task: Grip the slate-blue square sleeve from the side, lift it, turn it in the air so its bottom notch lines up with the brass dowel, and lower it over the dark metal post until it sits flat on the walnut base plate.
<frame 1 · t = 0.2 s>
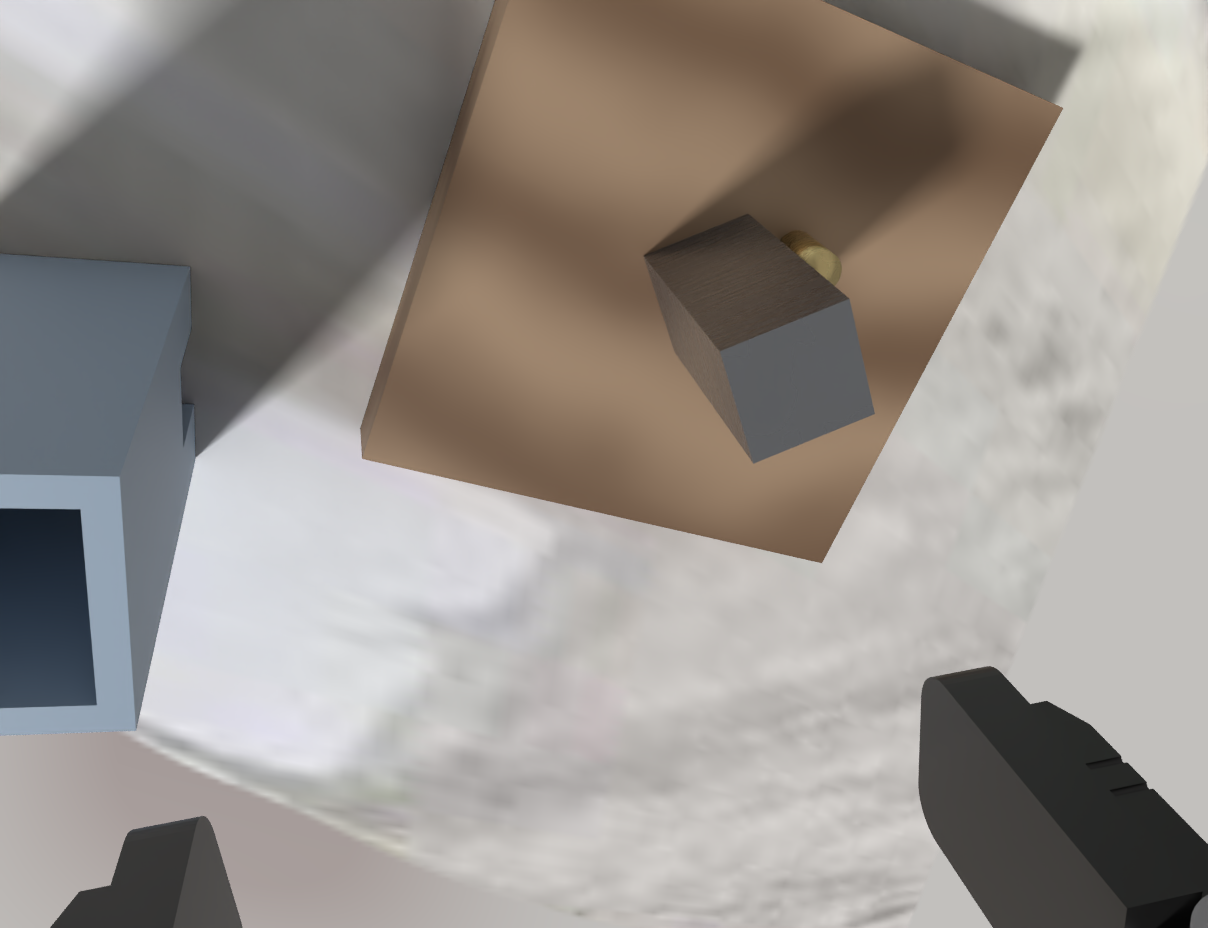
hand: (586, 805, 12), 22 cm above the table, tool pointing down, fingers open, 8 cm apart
base plate: (690, 262, 33), on the table
sleeve: (79, 361, 31), on the table
post: (757, 330, 29), on the base plate, point 6 cm above the table
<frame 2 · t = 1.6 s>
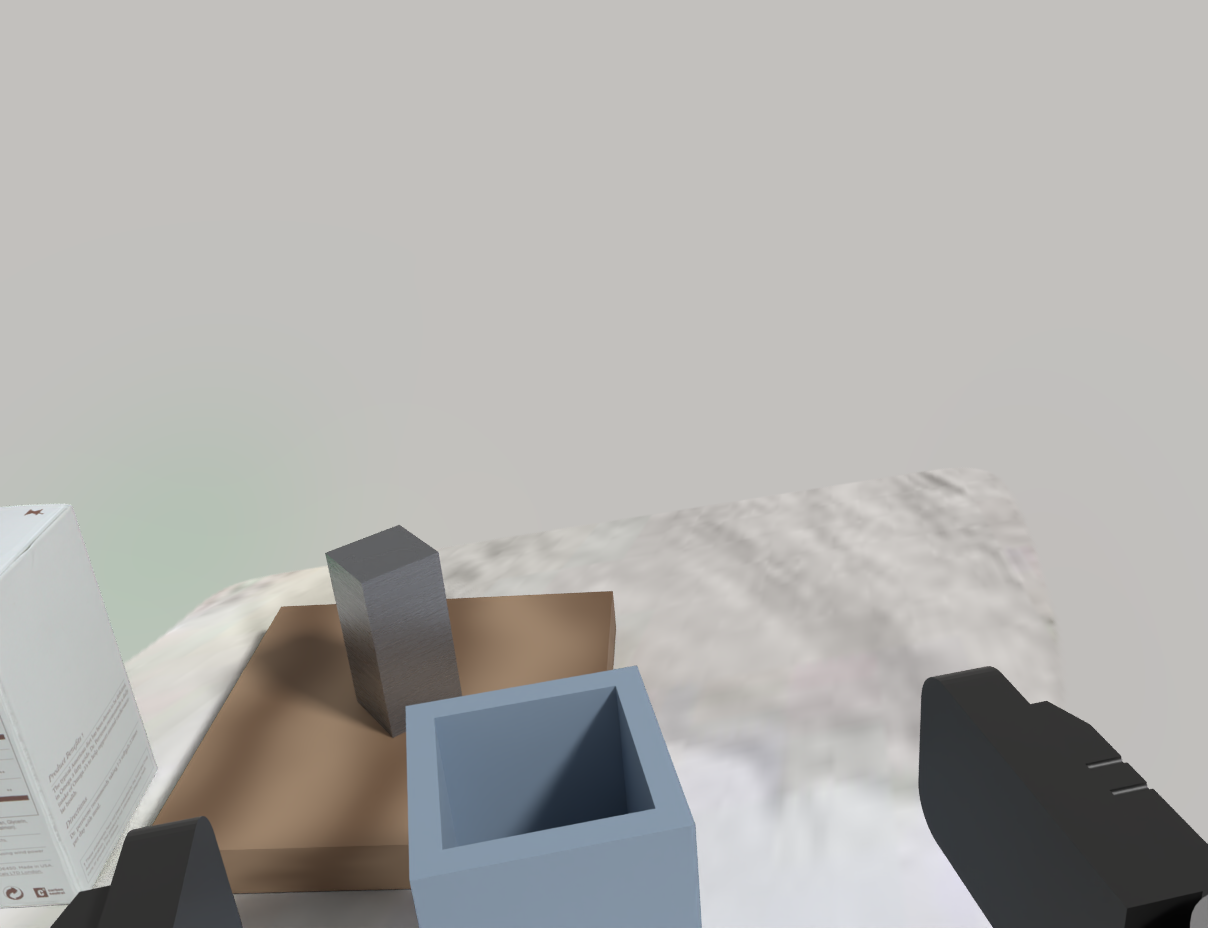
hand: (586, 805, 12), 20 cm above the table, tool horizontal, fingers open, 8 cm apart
base plate: (417, 741, 45), on the table
supplement box: (35, 843, 42), on the table
post: (396, 627, 43), on the base plate, point 6 cm above the table
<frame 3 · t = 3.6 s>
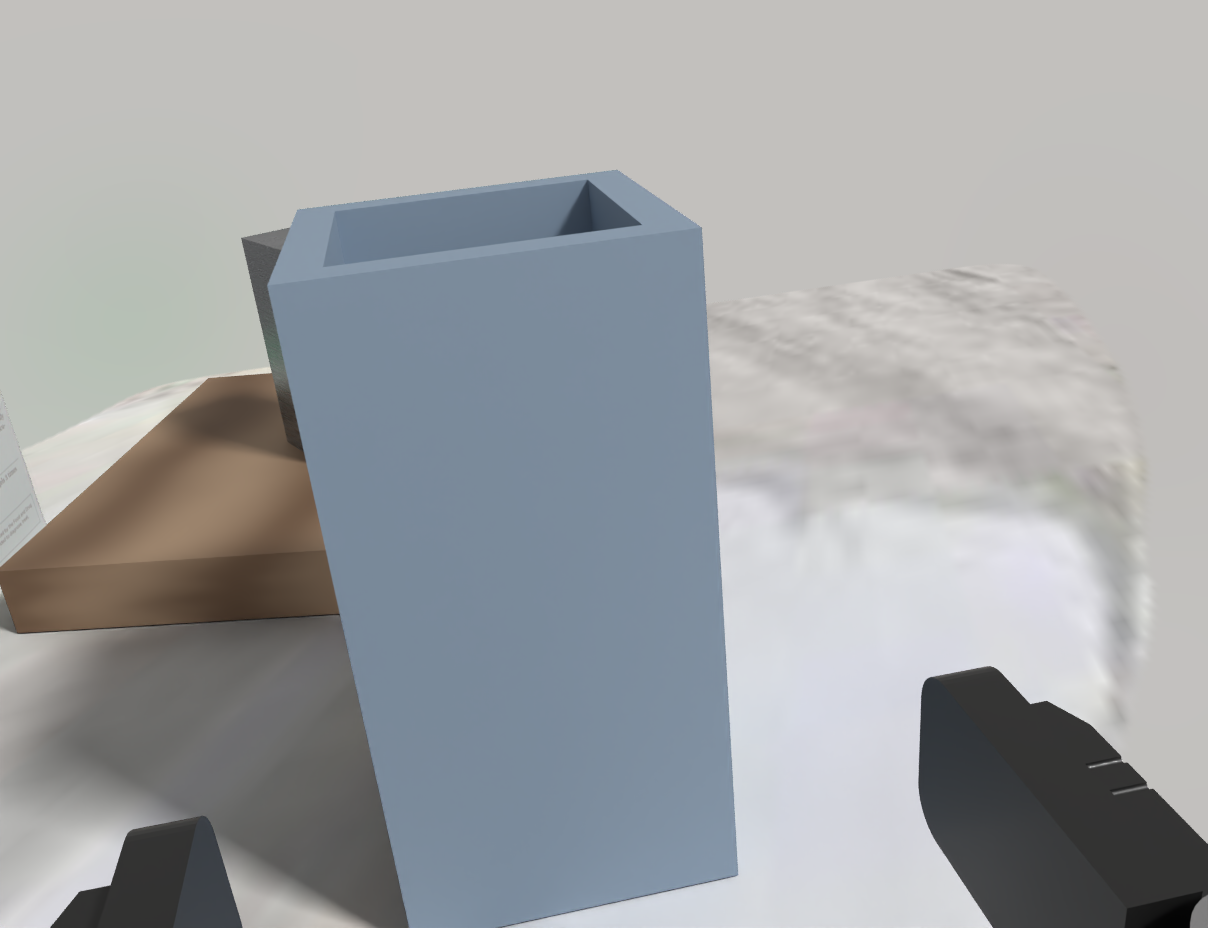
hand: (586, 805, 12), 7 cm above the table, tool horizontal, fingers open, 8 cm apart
base plate: (361, 492, 38), on the table
sleeve: (554, 800, 22), on the table
post: (331, 338, 36), on the base plate, point 6 cm above the table
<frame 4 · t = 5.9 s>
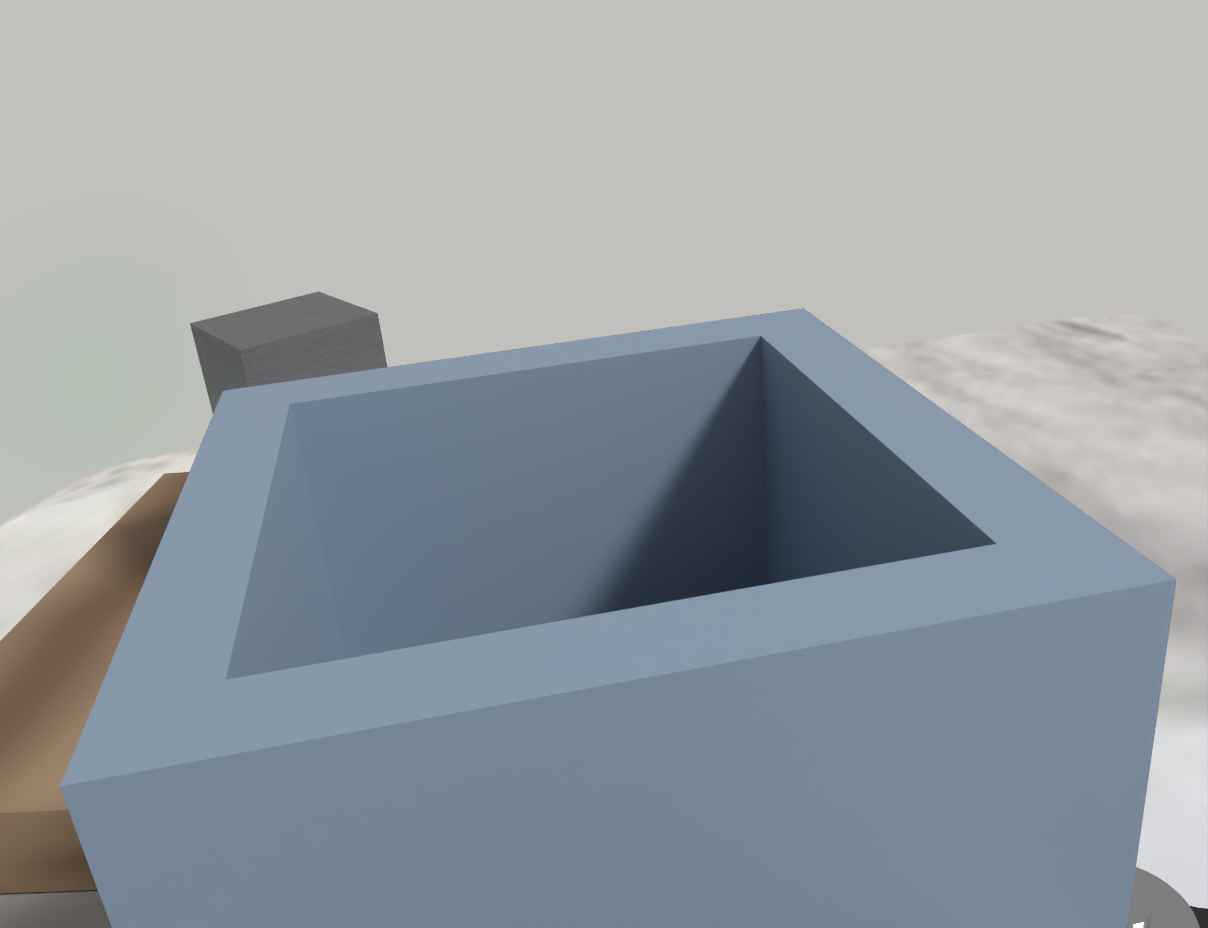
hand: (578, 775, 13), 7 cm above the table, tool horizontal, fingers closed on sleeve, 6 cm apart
base plate: (354, 651, 28), on the table
post: (314, 455, 26), on the base plate, point 6 cm above the table
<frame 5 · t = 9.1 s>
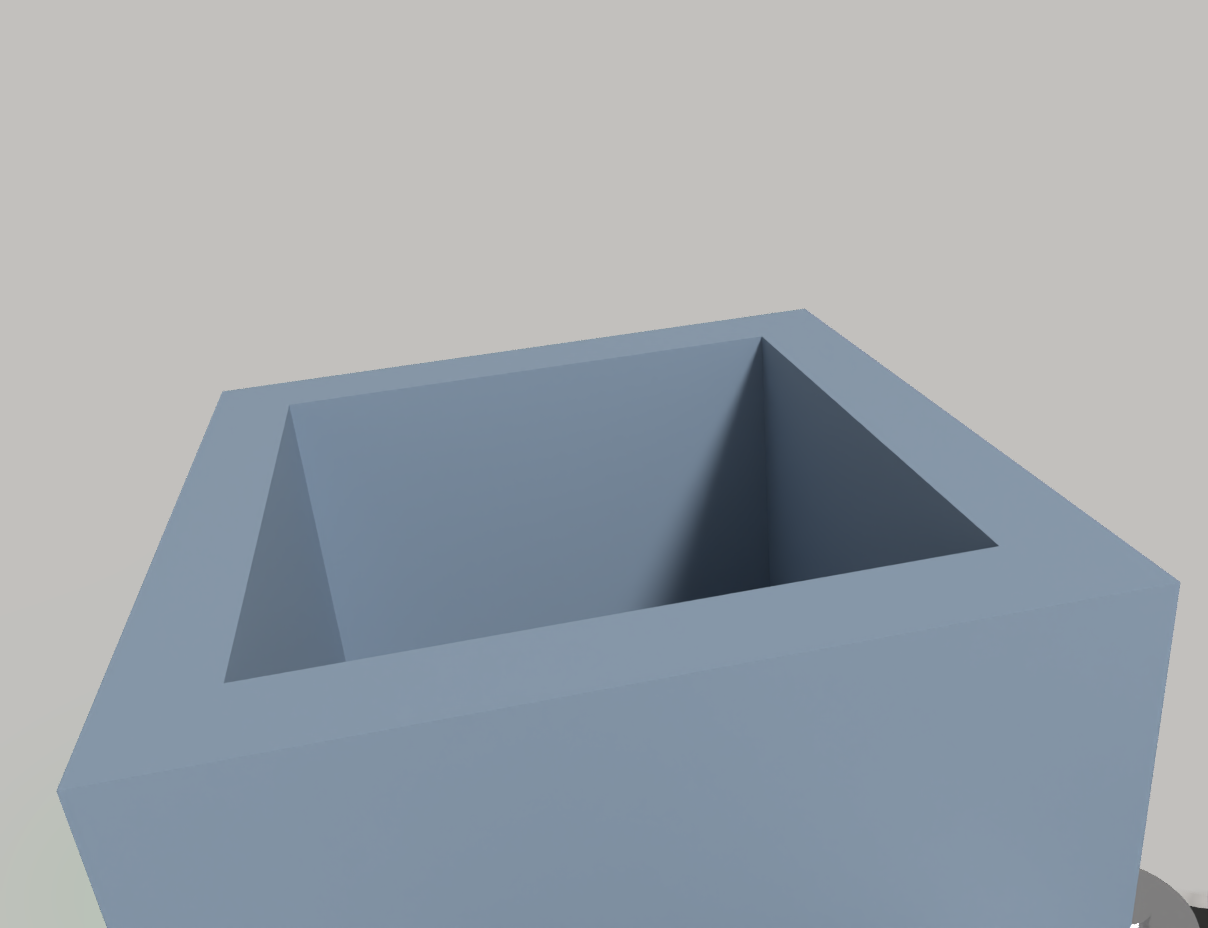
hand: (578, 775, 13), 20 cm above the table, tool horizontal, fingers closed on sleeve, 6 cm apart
when the fingers open (10 cm above the table, at t = 12.5 s): sleeve stays where it is, resting on base plate.
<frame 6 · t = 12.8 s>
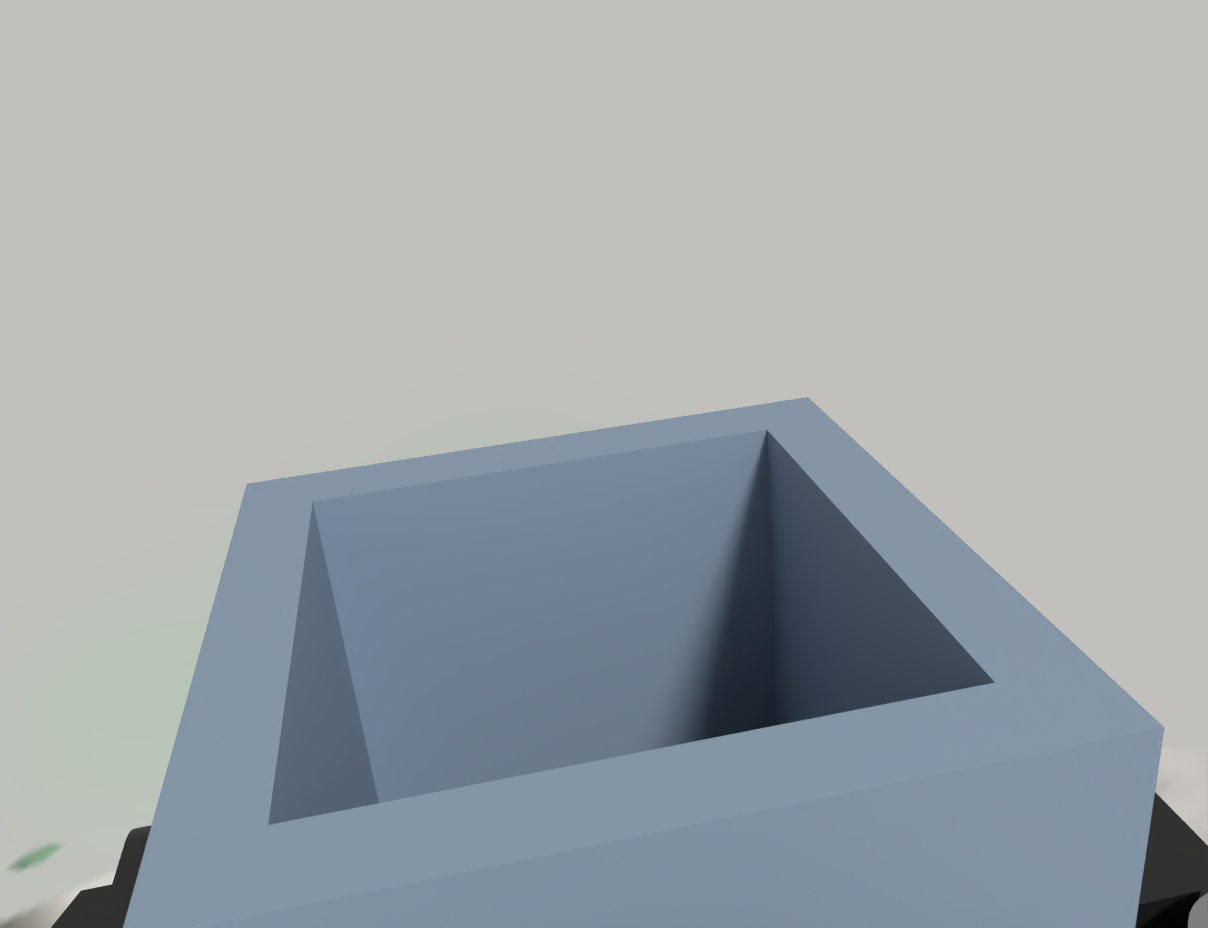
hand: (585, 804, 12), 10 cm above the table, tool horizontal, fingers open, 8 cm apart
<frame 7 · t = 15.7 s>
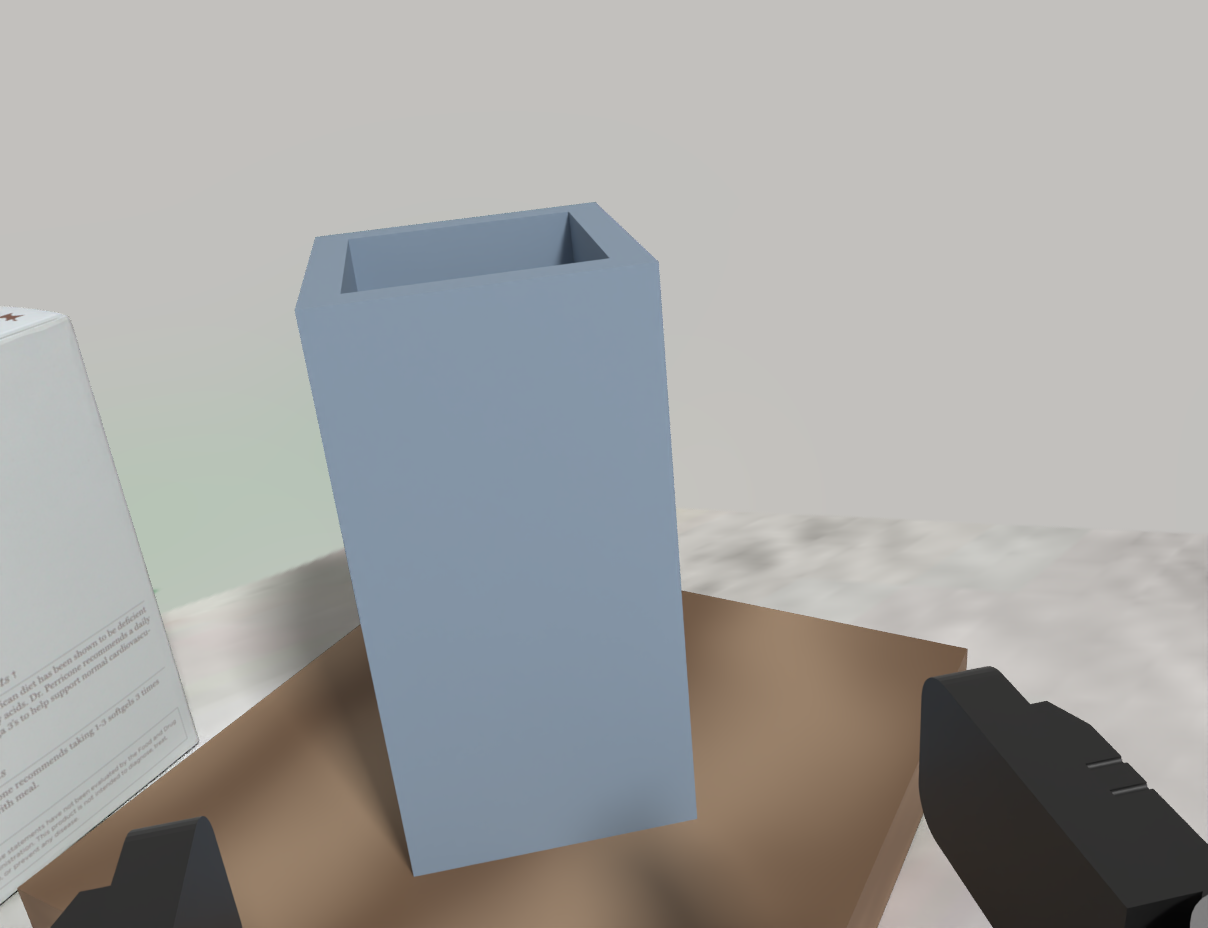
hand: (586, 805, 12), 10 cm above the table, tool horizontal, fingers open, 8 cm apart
base plate: (546, 823, 26), on the table
supplement box: (7, 802, 29), on the table
sleeve: (539, 757, 25), point 2 cm above the table, touching base plate
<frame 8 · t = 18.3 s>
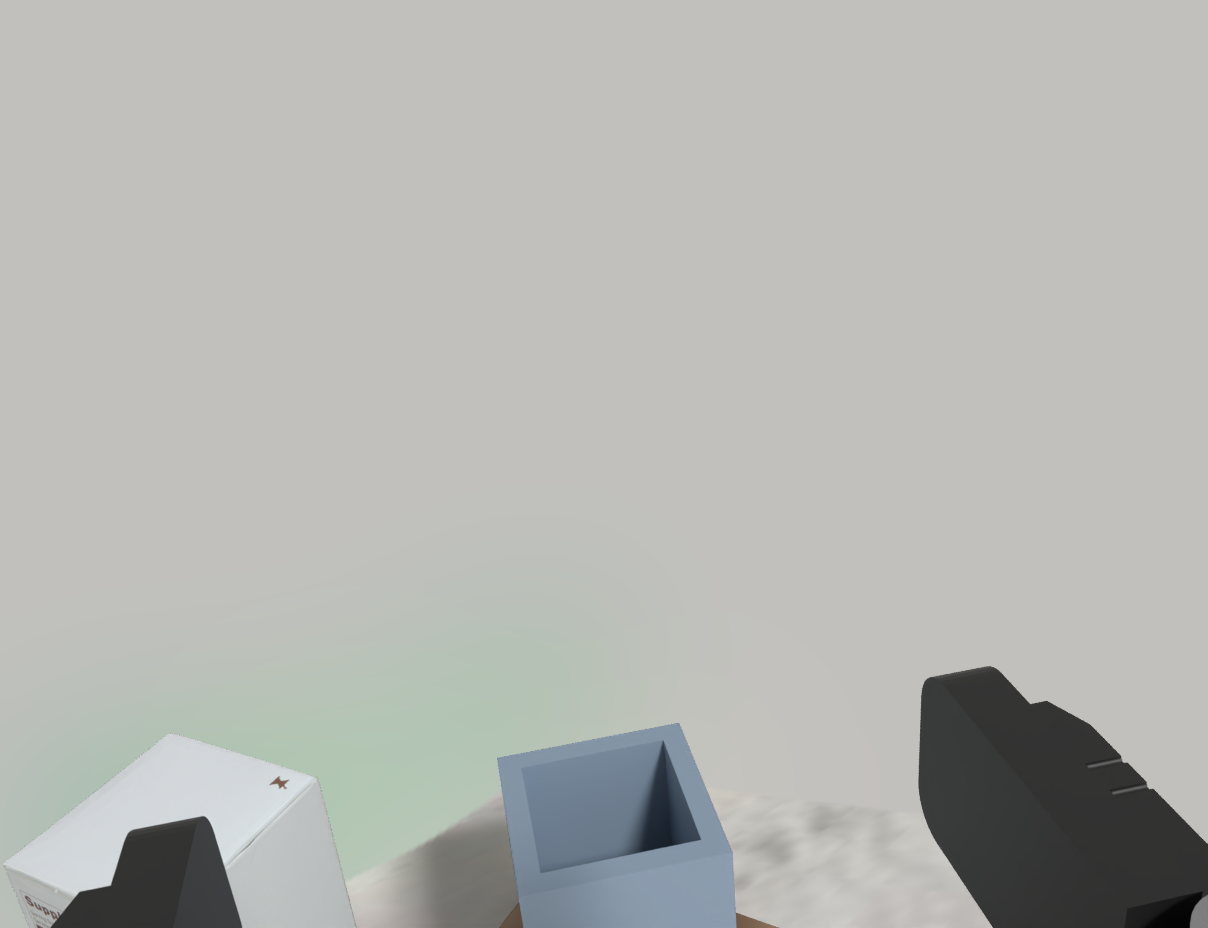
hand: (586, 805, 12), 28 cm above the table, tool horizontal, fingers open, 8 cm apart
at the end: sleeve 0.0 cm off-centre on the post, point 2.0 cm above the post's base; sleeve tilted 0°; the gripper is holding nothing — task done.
